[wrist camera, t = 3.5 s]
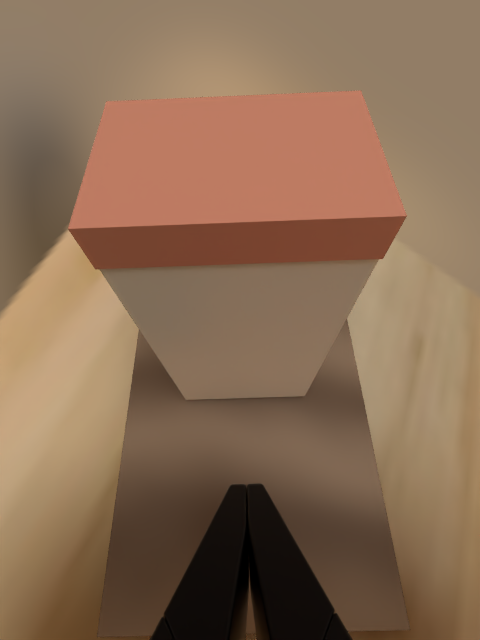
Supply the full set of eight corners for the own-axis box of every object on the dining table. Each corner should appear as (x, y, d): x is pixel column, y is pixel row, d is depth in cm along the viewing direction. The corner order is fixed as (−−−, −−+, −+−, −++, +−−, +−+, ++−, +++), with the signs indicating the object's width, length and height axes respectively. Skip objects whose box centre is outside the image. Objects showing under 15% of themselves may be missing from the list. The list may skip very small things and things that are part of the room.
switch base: (399, 621, 13) (527, 727, 7) (106, 627, 14) (-14, 737, 7) (328, 252, 22) (357, 160, 16) (153, 259, 23) (117, 170, 16)
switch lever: (305, 397, 17) (406, 215, 6) (184, 401, 17) (68, 228, 6) (297, 324, 18) (360, 90, 8) (188, 328, 19) (106, 101, 8)
